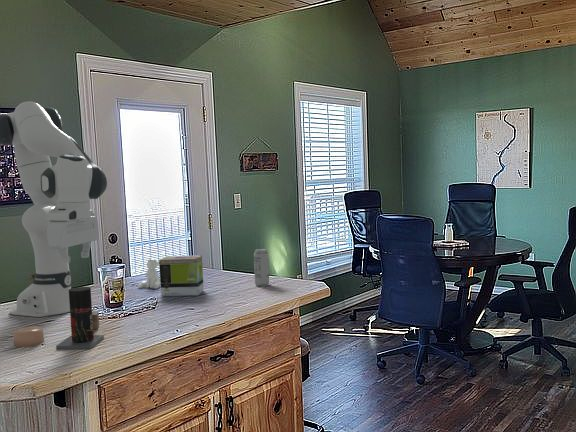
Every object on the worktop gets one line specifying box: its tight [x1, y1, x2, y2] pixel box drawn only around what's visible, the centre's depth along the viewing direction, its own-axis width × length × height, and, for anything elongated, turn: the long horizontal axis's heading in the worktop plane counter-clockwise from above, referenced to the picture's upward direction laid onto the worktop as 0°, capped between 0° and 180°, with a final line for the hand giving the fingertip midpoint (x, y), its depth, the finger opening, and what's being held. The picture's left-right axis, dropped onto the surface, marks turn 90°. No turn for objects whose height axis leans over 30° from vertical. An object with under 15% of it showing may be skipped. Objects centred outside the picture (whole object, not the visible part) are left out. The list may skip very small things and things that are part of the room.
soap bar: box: [12, 325, 45, 348], centre depth 170 cm, size 8×8×4 cm
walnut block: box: [92, 310, 100, 331], centre depth 183 cm, size 5×5×5 cm
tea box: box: [158, 254, 204, 297], centre depth 230 cm, size 15×10×15 cm, turn 84°
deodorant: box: [69, 286, 94, 343], centre depth 167 cm, size 6×6×15 cm
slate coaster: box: [55, 334, 105, 350], centre depth 167 cm, size 10×10×1 cm
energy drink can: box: [253, 248, 270, 287], centre depth 242 cm, size 6×6×15 cm
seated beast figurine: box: [137, 258, 161, 290], centre depth 246 cm, size 10×9×12 cm
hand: (76, 260), depth 166 cm, fingers open, 8 cm apart
